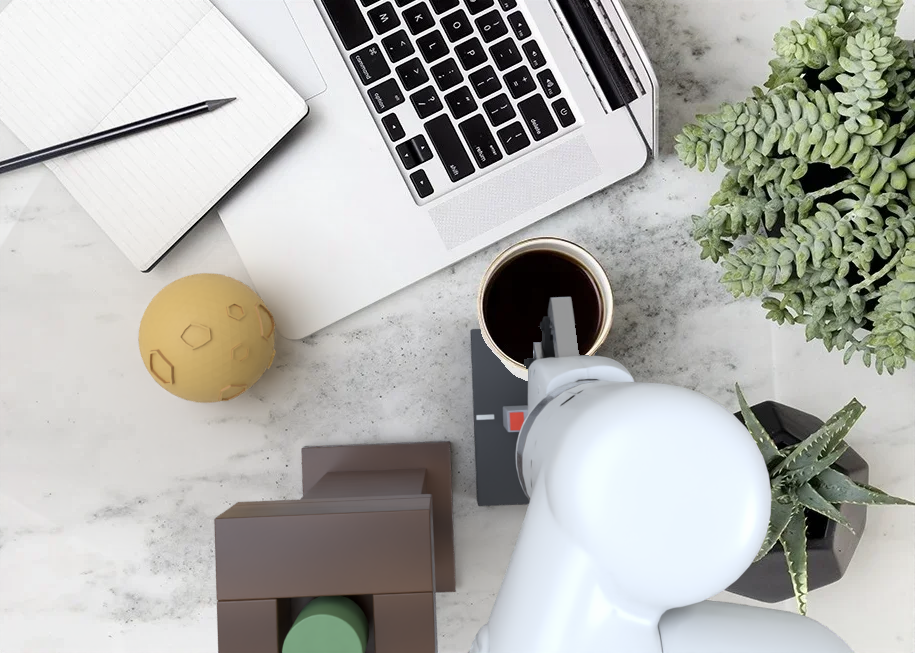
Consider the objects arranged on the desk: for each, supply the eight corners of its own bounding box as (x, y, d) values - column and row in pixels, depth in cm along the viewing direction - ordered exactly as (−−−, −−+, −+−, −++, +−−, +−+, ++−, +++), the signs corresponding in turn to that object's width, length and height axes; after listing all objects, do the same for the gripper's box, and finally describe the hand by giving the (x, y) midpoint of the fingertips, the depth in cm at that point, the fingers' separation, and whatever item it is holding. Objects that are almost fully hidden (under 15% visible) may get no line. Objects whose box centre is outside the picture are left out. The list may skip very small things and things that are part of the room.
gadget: (598, 495, 64) (604, 501, 62) (476, 500, 64) (478, 506, 61) (590, 325, 65) (596, 324, 62) (470, 330, 65) (471, 329, 62)
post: (455, 587, 64) (460, 729, 40) (308, 594, 64) (224, 740, 40) (450, 440, 64) (451, 492, 40) (303, 446, 64) (217, 502, 40)
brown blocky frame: (440, 730, 40) (440, 772, 36) (244, 739, 40) (221, 782, 36) (432, 493, 40) (430, 509, 36) (237, 501, 40) (213, 518, 36)
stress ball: (144, 361, 64) (88, 363, 54) (204, 257, 64) (160, 240, 54) (249, 421, 64) (213, 434, 54) (309, 317, 64) (284, 310, 54)
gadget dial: (571, 403, 62) (582, 407, 57) (572, 423, 62) (583, 429, 57) (502, 406, 62) (507, 410, 57) (503, 426, 62) (508, 432, 57)
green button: (370, 668, 38) (364, 694, 35) (295, 671, 38) (282, 698, 35) (368, 592, 38) (361, 612, 35) (293, 595, 38) (280, 616, 35)
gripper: (686, 642, 37) (609, 556, 54) (665, 275, 38) (596, 306, 55) (526, 649, 36) (500, 561, 54) (510, 281, 38) (490, 310, 55)
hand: (549, 432), depth 54 cm, fingers open, 9 cm apart
